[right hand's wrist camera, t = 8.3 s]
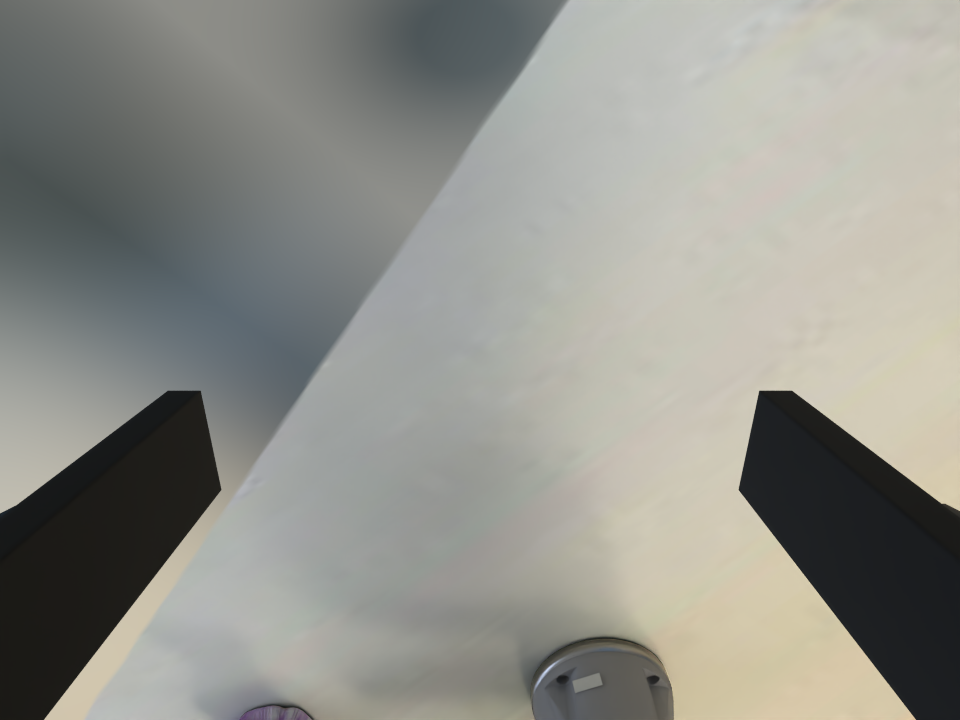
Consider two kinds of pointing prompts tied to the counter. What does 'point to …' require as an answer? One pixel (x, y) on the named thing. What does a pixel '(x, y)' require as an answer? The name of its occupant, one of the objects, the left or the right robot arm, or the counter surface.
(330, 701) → the counter surface
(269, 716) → the figurine
